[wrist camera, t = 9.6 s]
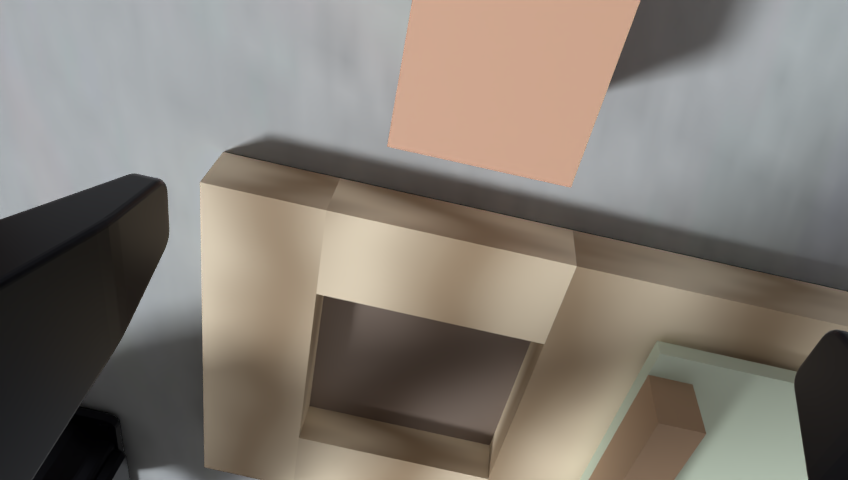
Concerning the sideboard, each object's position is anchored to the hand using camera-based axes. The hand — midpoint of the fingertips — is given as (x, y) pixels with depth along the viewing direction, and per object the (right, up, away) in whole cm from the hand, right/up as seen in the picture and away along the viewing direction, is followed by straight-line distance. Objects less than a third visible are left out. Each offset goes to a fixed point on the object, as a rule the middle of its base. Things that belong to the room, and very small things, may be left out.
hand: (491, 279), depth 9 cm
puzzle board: (+3, -5, +18) cm, 19 cm away
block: (+1, +7, +10) cm, 12 cm away
